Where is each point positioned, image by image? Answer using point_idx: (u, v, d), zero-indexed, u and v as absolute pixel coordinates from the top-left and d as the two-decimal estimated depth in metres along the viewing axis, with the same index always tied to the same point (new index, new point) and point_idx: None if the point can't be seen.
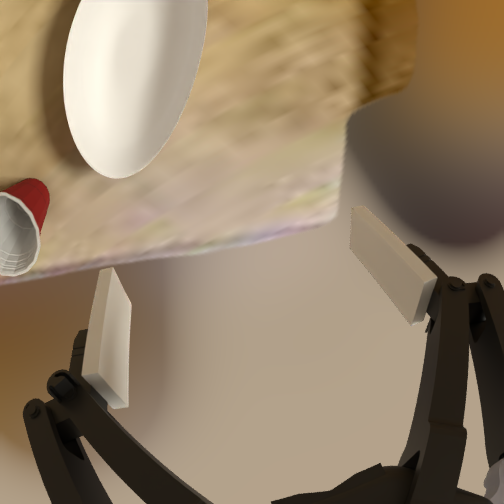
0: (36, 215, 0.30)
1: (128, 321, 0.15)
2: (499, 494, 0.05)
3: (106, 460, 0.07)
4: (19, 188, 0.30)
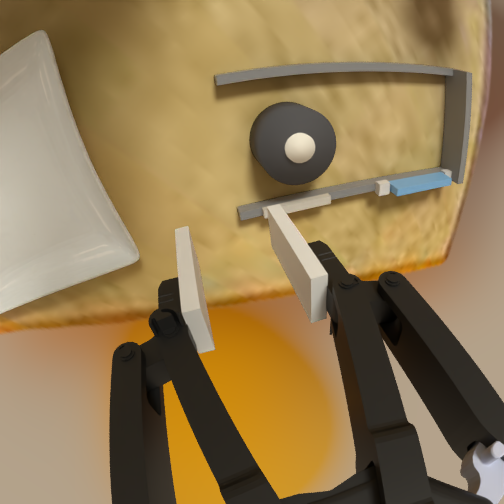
0: None
1: None
2: (484, 484, 0.05)
3: (183, 404, 0.09)
4: None
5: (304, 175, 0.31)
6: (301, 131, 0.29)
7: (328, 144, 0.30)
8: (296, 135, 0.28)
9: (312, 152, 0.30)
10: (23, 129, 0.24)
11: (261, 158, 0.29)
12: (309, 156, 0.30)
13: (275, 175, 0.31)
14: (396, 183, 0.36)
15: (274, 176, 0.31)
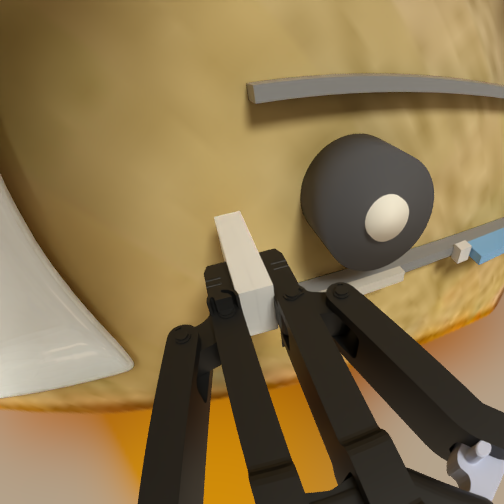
0: None
1: None
2: (475, 483, 0.05)
3: (228, 386, 0.09)
4: None
5: (384, 256, 0.20)
6: (392, 192, 0.17)
7: (423, 209, 0.18)
8: (386, 200, 0.17)
9: (403, 224, 0.18)
10: None
11: (328, 237, 0.18)
12: (398, 230, 0.18)
13: (345, 260, 0.19)
14: (477, 245, 0.25)
15: (343, 262, 0.19)
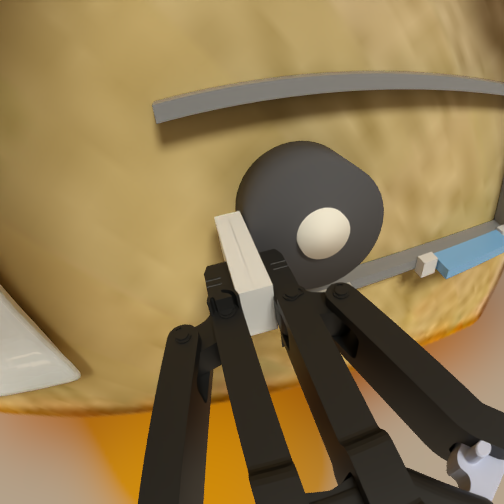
0: None
1: None
2: (475, 483, 0.05)
3: (228, 385, 0.09)
4: None
5: (327, 273, 0.19)
6: (327, 205, 0.16)
7: (371, 222, 0.17)
8: (319, 215, 0.16)
9: (344, 240, 0.17)
10: None
11: None
12: (339, 246, 0.17)
13: None
14: (445, 257, 0.24)
15: None
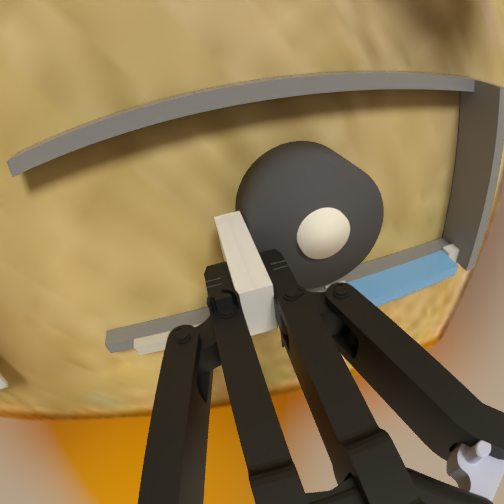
0: None
1: None
2: (475, 483, 0.05)
3: (228, 385, 0.09)
4: None
5: (328, 273, 0.19)
6: (327, 205, 0.16)
7: (371, 221, 0.17)
8: (318, 215, 0.16)
9: (344, 239, 0.17)
10: None
11: None
12: (339, 246, 0.17)
13: None
14: (362, 287, 0.23)
15: None
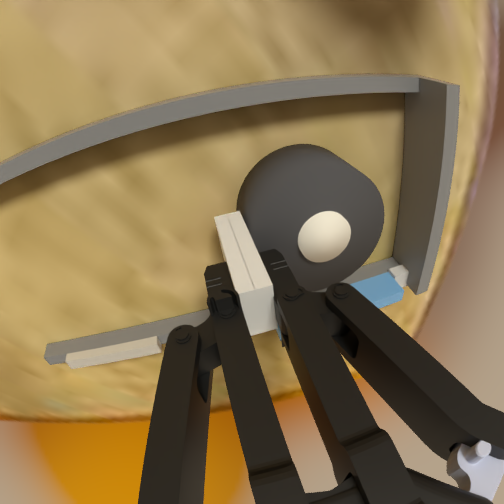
0: None
1: None
2: (475, 483, 0.05)
3: (228, 386, 0.09)
4: None
5: (326, 277, 0.19)
6: (329, 208, 0.16)
7: (371, 226, 0.18)
8: (320, 218, 0.16)
9: (345, 243, 0.17)
10: None
11: None
12: (339, 250, 0.17)
13: None
14: None
15: None
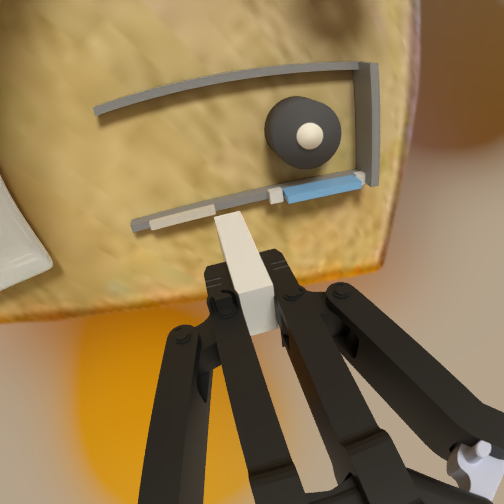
0: None
1: None
2: (475, 483, 0.05)
3: (228, 385, 0.09)
4: None
5: (313, 160, 0.35)
6: (311, 121, 0.32)
7: (334, 134, 0.33)
8: (307, 124, 0.32)
9: (320, 140, 0.33)
10: None
11: (276, 144, 0.33)
12: (318, 143, 0.33)
13: (287, 159, 0.34)
14: (290, 190, 0.38)
15: (287, 160, 0.34)
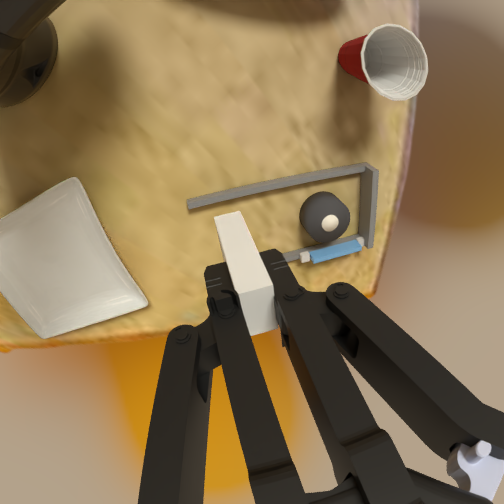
0: None
1: None
2: (475, 483, 0.05)
3: (228, 385, 0.09)
4: (355, 44, 0.34)
5: (330, 237, 0.55)
6: (331, 214, 0.52)
7: (345, 219, 0.53)
8: (328, 217, 0.52)
9: (336, 225, 0.53)
10: (69, 230, 0.46)
11: (308, 229, 0.53)
12: (334, 227, 0.53)
13: (315, 238, 0.54)
14: (314, 253, 0.58)
15: (314, 238, 0.54)
